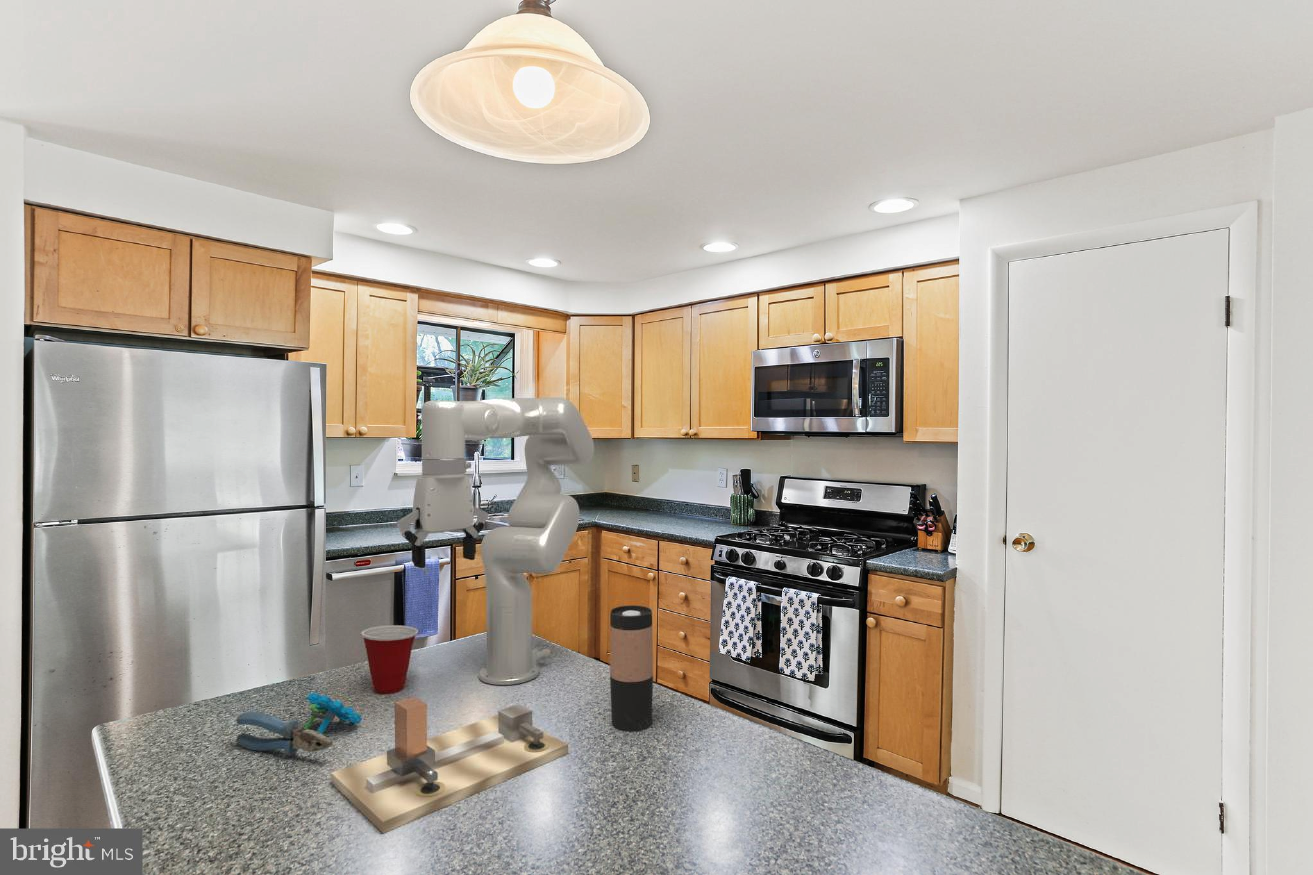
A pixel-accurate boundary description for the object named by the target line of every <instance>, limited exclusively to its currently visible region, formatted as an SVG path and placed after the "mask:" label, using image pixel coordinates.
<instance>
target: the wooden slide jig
mask: <svg viewBox="0 0 1313 875" xmlns="http://www.w3.org/2000/svg"><path fill="white" fill-rule="evenodd" d="M497 712H498V713H497V714H496V715H493V716H491V717H488V718H485V719H482V720H479V721H476V722H473V723H471V724H468V725H465V726H461V727H459V728H455V729H453V730H451V731H448V732H447V731H446V732H444V733H442V734H439V735H436V736H433V737H430V738H427V745H428V746H429V747H431V748H432V749H434V750H435V764H434V765H431V766H429V767H430V768H432V769H433V770H435V771H436V772H437V773H438V780H436V781H434V786H432V787H427V781H426V780H425V779H424V778H422V777H421V776H420V775H418V774H417V773H416V772H413V773H410V774H408V775H405V776H401V775H399V774H398V773H397V772H396V771H394V770H393V769H392V768H391V767H389V766H388V765H387V753H385V754H382V755H378V756H375V757H373V758H369V759H368V760H364V761H360V762H358V763H355V764H352V765H350V766H346V767H344V768H341V769H338V770H335V771H332V772H331V776H330V777H331V779H330V780H331V781H330V782H331V784H332V785H333V786H334V787H335V788H336V789H337V790H338V791H339V792H340V793H341V794H342V795H343V796H344V795H345V796H344V797H345V798H346V797H347V798H346V799H347V800H348V799H349V802H350V803H351V804H352V805H353V806H354V807H355V808H356V809H357V810H358V811H359V812H360V813H362V814H363V816H364V817H366V819H367V820H369V821H370V822H371V823H372V825H374V827H376V829H378V831H380V832H381V833H382V834H385V833H388V832H389V831H392V830H394V829H397V828H399V827H401V826H404V825H405V824H409V823H411V822H414V821H415V820H417V819H419V818H421V817H424V816H426V815H429V814H432V813H433V812H436V811H438V810H441V809H444V808H445V807H447V806H450V805H452V804H454V803H457V802H459V801H461V800H464V799H466V798H469V797H471V796H473V795H475V794H477V793H480V792H482V791H486V790H487V789H489V788H491V787H494V786H496V785H499V784H501V783H503V782H505V781H508V780H510V779H512V778H515V777H517V776H519V775H521V774H524V773H527V772H529V771H531V770H533V769H536V768H538V767H540V766H542V765H545V764H547V763H550V762H552V761H553V760H557V759H559V758H561V757H564V756H566V755H568V754H569V743H567V742H565V741H563V740H561V739H559V738H557V737H555V736H553V735H551V734H549V733H547V732H546V731H544V730H542V729H539V728H538V727H536V726H535V725H533V710H532V709H530V708H528V707H526V706H524V705H522V704H521V703H518V704H517V703H516V704H515V705H512V706H508V707H506V708H502V709H499V710H497Z"/></svg>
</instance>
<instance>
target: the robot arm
mask: <svg viewBox="0 0 1313 875" xmlns="http://www.w3.org/2000/svg"><path fill="white" fill-rule="evenodd" d="M420 410H421V413H420V414H421V415H420V417H421V476H418V477H417V478H416V481H415V487H414V494H413V502H412V511H411V512H409V513H408V514H407V515H405V516H404V517H402V518H400V519H399V520H398V521H396V524H395V525H396V526H397V529H398V530H399V531H400V533H401V536H402V538H404V539H405V540H406V541H408V543H409V544H410V545H411V562H412V564H413V566H414V567H416V568H418V569H425V568H426V565H427V564H426V561H427V560H426V545H424V544H423V543H424V541H425V540H426V539H427V537H428V536H429V534H438V533H447V532H453V531H454V532H456V531H462V533H463V534H464V535H465V536H463V538H462V558H463V559H465V560H469V561H474V560H475V559H476V554H477V541H476V540H477V538H478V537H479V535H480V533H481V532H482V530H483V529H484V527H485V523H486V521H487V519H488V516H489V513H488V512H487V511H484V510H483V509H480V508H478V507H476V506H474V499H473V492H472V491H473V490H472V485H471V481H470V477H469V475H466V473H467V469H471V468H472V463H471V461H470V460H469V461H467V458H466V441H483V440H486V439H511V438H519V437H520V438H521V437H527V436H528V437H527V439H526V440H525V443H524V457H525V458H524V459H525V467H526V474H527V475H526V476H527V477H526V478H527V479H526V480H525V483H524V485H523V486H522V488H521V490H520V491H519V494H518V495H517V496H516V498H515V500H514V502H513V503H512V505H511V506H510V509H509V512H508V514H507V525H508V526H498V527H495V528H492V529H490V530H489V531H488V532H487V533H486V534H485V535H484V536H483V538H482V542H481V544H480V555H481V556H480V557H481V561H482V565H483V572H484V578H485V593H486V594H485V595H486V597H485V599H486V611H485V612H486V614H485V615H486V620H485V621H486V622H485V623H486V665H485V666H483V667H482V668H481V669H480V670H479V672H478V673H479V674H478V677H479V680H480V681H482V682H484V683H485V684H488V685H489V684H491V685H494V686H495V685H498V686H511V685H518V684H522V683H526V682H529V681H532V680H533V679H535V678H537V677H538V675H539V674H540V666H539V664H537V663H538V662H539V661H540V660H541V659H543V660H544V659H547V658H550V657H551V655H552V653H551V652H552V651H551V650H550V648H544V649H540V650H539V648H533V615H532V614H533V604H532V603H533V592H532V588H531V585H530V582H529V580H528V578H527V577H526V575H525V574H530V575H531V574H532V575H549V574H550V575H551V574H552V573H554V572H555V571H557V570H558V568H559V567H560V566H561V563H562V562H563V560H564V557H565V555H566V553H567V552H568V550H569V547H570V546H571V543H572V540H574V537H575V534H576V532H577V529H578V527H579V522H580V506H579V504H578V502H577V500H576V499H575V498H574V497H573V496H571V495H568V494H563V493H561V492H562V485H561V482H560V480H559V478H558V476H557V475H556V474H555V472H554V471H553V470H552V467H551V466H568V467H569V466H573V467H574V466H575V467H576V466H583V465H586V464H588V463H590V461H592V459H593V457H594V454H595V453H594V452H595V443H594V440H593V437H592V434H591V432H590V430H589V429H588V427H587V425H586V423H585V420H584V419H583V417H582V415H581V413H580V412H579V410H578V408H577V407H576V405H574V403H573V402H572V401H571V400H569V399H568V398H566V397H522V398H521V397H520V398H519V397H518V398H515V397H514V398H513V397H512V398H511V397H510V398H509V397H508V398H507V397H505V398H503V397H501V398H491V399H483V400H469V401H468V400H467V401H466V400H462V401H461V400H460V401H459V400H457V401H456V400H429V401H426V402H424V403H423V404H422V406H421V409H420ZM474 515H475V516H476V521H475V522H474ZM410 524H412V528H413V530H414V532H413V531H412V530H410V527H409V526H410Z"/></svg>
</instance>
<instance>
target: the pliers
mask: <svg viewBox="0 0 1313 875" xmlns="http://www.w3.org/2000/svg"><path fill="white" fill-rule="evenodd" d="M235 720H236V723H237V725H249V726H250V725H251V726H256V727H260V728H261V729H265V730H267V731H270V732H272V733H274V734H277V735H280V736H282V737H270V738H268V737H267V738H265V737H259V736H257V735H256V736H255V735H252V734H249V733H244V732H243V733H240V734H239V735H238V736H237V737H236V740H235V742H236V744H237V745H239V746H240V747H243V748H245V749H247V750H252V751H274V750H283V751H284V753H285V754H286V756H293V755H295V754H296V753H297V752H298V750H299V749H300V750H302V751H304V752H311V753H314V752H318V751H321V750H326V749H328V748H331V747H332V746H333V745H334V744H333V739H332V738H330V737H327V736H325V735H323V733H322V734H321V733H319V732H317V730H312V729H307V730H305V729H304V728H301V727H300V723H299V722H298V720H296V719H290V720H289V721H287V722H285V721H283V720H282V719H280V718H277V717H275V716H273V715H270V714H267V713H264V712H261V711H260V712H259V711H246V712H243V713H240V715H238V716H237V717H236V719H235Z"/></svg>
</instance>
